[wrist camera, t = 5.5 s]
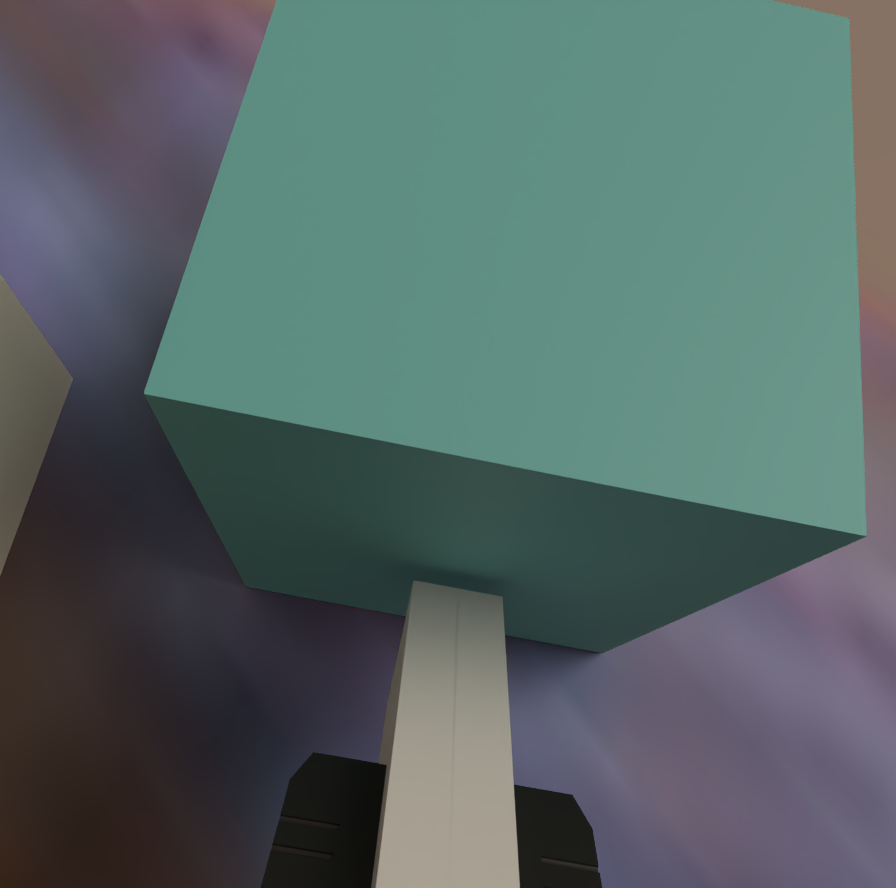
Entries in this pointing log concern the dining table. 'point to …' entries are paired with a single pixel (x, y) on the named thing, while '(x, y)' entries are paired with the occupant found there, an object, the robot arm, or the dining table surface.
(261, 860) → the dining table surface
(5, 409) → the cream block
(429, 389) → the teal block
